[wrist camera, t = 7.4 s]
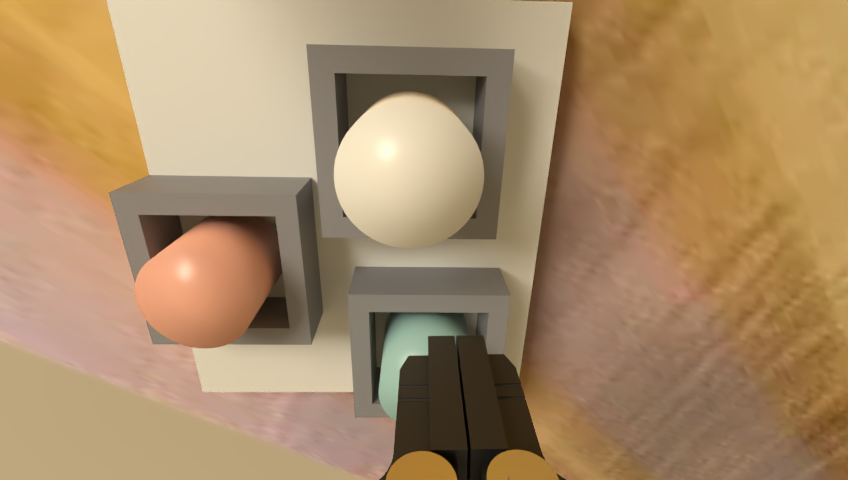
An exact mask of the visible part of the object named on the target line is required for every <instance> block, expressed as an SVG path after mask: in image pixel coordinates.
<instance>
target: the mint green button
mask: <svg viewBox="0 0 848 480" xmlns="http://www.w3.org/2000/svg"><path fill="white" fill-rule="evenodd" d="M456 335H469V333H468V328H467V323H466V319H465V317H464V315H463V313H440V312H391V313H390V315H389V317H388V319H387V322H386V326H385V336H384V345H383V354H382V364H381V373H380V382H379V400H380V404H381V406H382V408H383V409H384V411H385V412H386V414H387V415H388V416H389V417H390V418H392V419H393V420H394V421H396V415H397V402H398V388H399V374H400V368H401V367H402V365H403V364H404V362H405V361H406V359H407V357H408V356H419V355H428V336H455V344H456Z"/></svg>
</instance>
